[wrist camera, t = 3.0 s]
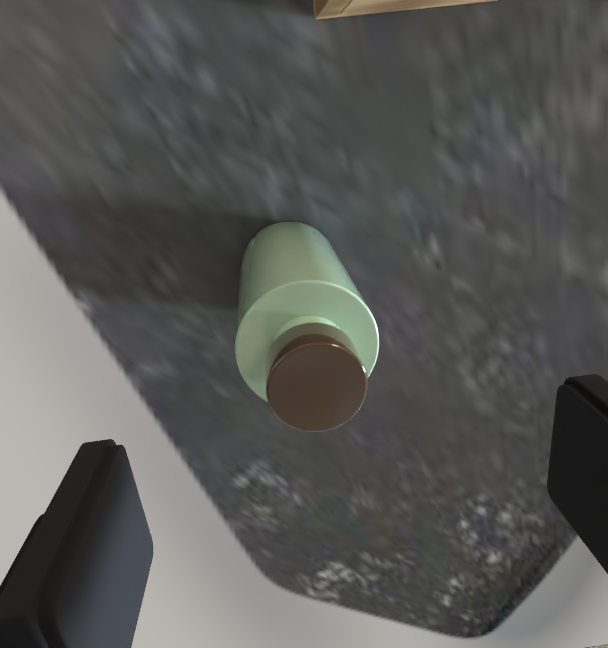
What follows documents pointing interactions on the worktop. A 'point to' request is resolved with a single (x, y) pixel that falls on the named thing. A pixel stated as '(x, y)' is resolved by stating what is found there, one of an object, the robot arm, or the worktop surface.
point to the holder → (376, 6)
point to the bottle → (303, 329)
